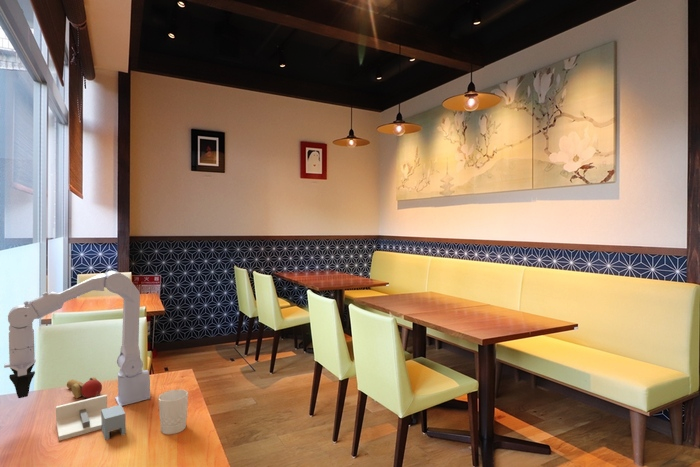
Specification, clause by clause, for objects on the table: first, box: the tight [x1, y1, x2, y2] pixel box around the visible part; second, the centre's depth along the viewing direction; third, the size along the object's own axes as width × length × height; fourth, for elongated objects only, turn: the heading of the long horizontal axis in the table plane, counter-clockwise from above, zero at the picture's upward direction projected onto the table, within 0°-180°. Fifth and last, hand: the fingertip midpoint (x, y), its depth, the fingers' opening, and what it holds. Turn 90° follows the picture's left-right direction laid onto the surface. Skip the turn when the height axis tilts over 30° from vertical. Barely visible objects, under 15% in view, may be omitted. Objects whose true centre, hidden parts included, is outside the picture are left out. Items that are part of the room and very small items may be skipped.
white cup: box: [158, 388, 189, 435], centre depth 117 cm, size 8×8×10 cm
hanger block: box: [101, 404, 127, 441], centre depth 115 cm, size 5×7×6 cm
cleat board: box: [55, 394, 108, 441], centre depth 119 cm, size 13×12×5 cm
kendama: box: [66, 376, 103, 399], centre depth 140 cm, size 8×6×18 cm
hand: (23, 392), depth 117 cm, fingers open, 7 cm apart
